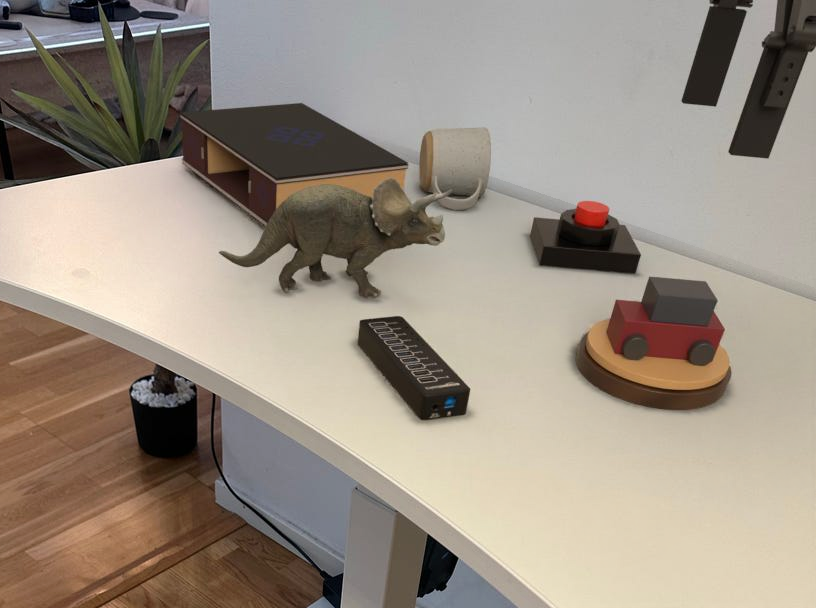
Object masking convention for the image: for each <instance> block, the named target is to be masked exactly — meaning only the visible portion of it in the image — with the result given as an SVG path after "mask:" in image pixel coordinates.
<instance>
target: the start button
mask: <svg viewBox="0 0 816 608" xmlns="http://www.w3.org/2000/svg"><path fill="white" fill-rule="evenodd" d="M575 209H576V212H575V216H574V220H575V221H577V222H578V223H582V224H585V225H590V226H604V225H605V224H606V220H607V217H608V214H609V212H610V207H609V206H608V205H607V204H604V203H602V202H599V201H593V200H582V201H579V202H578V203H577V204H576V208H575Z"/></svg>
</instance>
